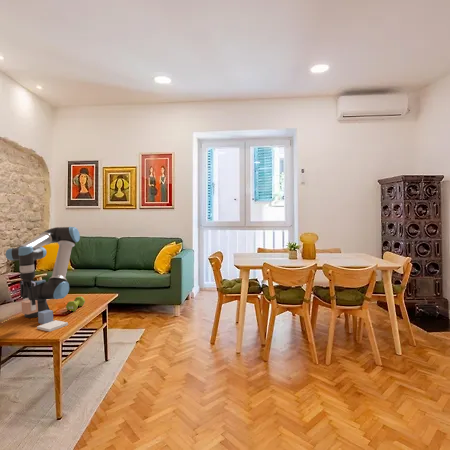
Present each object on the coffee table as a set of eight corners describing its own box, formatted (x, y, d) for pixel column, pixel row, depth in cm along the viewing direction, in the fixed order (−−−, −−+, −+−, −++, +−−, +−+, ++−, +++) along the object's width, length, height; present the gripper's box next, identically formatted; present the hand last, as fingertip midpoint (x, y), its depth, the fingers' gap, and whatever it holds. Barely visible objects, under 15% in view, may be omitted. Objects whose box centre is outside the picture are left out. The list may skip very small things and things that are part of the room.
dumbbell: (75, 305, 238) (75, 296, 238) (86, 305, 238) (85, 295, 238) (65, 312, 222) (64, 302, 222) (76, 312, 222) (76, 301, 222)
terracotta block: (22, 313, 190) (21, 301, 190) (32, 310, 195) (31, 299, 195) (27, 314, 187) (27, 302, 187) (37, 311, 192) (37, 300, 192)
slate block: (38, 323, 200) (37, 312, 200) (47, 320, 206) (47, 309, 205) (44, 324, 198) (43, 313, 197) (53, 321, 203) (52, 310, 203)
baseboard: (37, 328, 190) (36, 326, 189) (55, 322, 200) (55, 320, 200) (49, 331, 184) (49, 329, 184) (68, 325, 195) (68, 322, 194)
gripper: (11, 272, 191) (14, 309, 192) (30, 274, 182) (33, 313, 183) (24, 269, 197) (27, 305, 199) (43, 271, 189) (45, 309, 190)
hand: (30, 309), depth 191 cm, fingers closed on terracotta block, 6 cm apart
